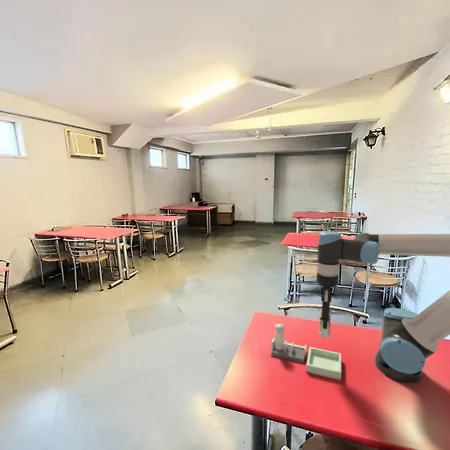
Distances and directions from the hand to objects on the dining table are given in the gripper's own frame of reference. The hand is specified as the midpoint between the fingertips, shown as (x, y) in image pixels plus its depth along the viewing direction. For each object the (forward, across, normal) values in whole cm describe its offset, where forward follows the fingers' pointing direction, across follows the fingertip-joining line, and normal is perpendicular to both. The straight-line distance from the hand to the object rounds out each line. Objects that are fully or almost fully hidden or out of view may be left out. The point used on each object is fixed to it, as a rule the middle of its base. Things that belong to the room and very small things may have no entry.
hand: (324, 332), depth 101 cm
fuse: (+13, -3, -18) cm, 22 cm away
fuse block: (+14, -3, -14) cm, 20 cm away
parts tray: (+14, 0, 0) cm, 14 cm away
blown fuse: (+1, 0, 0) cm, 1 cm away
